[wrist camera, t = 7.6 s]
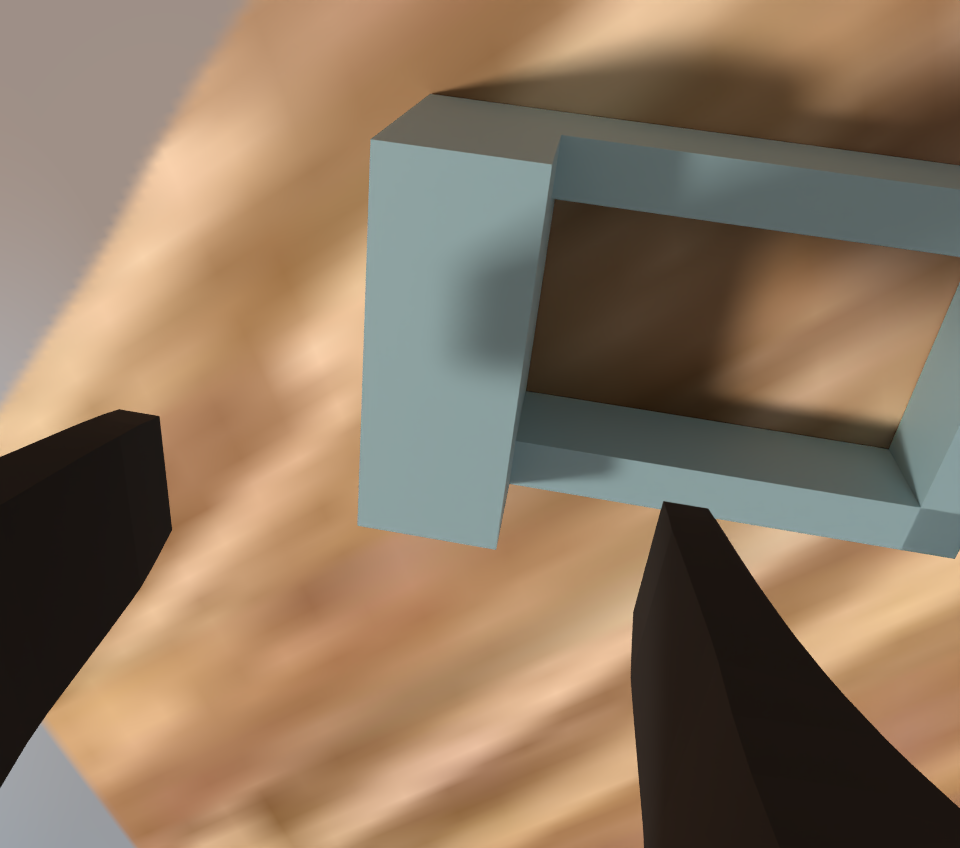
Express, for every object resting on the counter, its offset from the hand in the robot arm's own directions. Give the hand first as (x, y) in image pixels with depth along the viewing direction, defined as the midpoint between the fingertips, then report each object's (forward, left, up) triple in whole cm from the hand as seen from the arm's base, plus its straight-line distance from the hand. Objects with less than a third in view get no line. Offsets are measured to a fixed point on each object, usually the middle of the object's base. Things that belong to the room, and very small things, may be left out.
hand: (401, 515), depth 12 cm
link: (-5, 0, -9) cm, 11 cm away
